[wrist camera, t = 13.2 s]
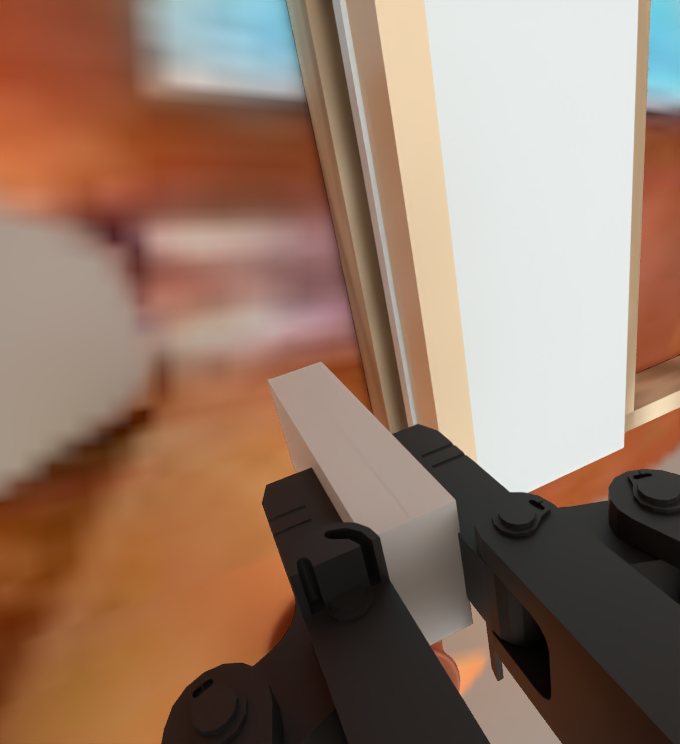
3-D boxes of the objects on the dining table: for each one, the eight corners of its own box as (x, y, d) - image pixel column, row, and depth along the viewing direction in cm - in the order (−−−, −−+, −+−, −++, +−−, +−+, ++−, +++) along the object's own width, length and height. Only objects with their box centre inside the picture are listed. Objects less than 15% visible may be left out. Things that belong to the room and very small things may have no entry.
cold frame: (390, 496, 29) (416, 528, 26) (281, -22, 19) (305, -56, 16) (719, 353, 35) (766, 367, 32) (771, -91, 25) (846, -124, 22)
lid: (426, 530, 26) (454, 563, 23) (320, -63, 16) (352, -105, 13) (614, 442, 29) (655, 464, 26) (627, -101, 19) (695, -140, 16)
